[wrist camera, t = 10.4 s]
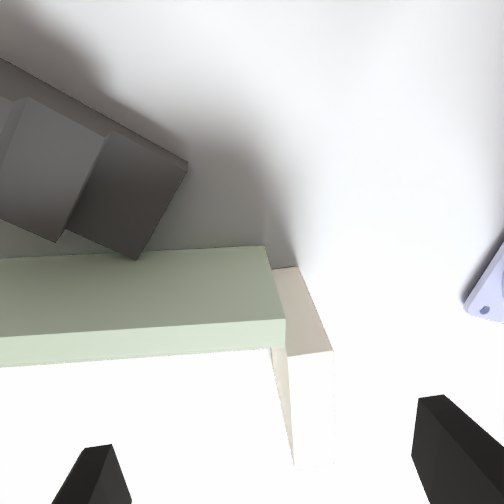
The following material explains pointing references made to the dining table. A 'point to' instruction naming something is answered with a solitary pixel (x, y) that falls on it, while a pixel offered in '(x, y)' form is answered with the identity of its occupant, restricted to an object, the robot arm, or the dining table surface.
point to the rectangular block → (304, 374)
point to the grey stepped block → (78, 168)
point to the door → (137, 305)
